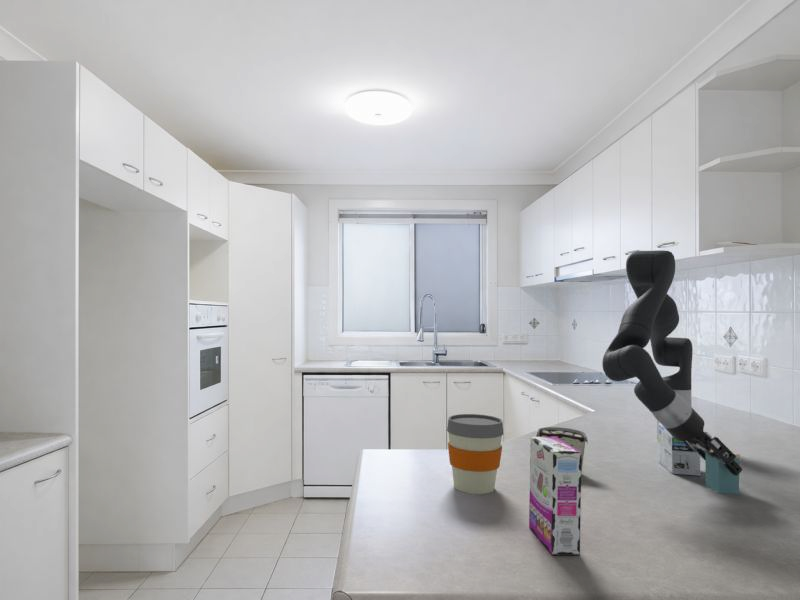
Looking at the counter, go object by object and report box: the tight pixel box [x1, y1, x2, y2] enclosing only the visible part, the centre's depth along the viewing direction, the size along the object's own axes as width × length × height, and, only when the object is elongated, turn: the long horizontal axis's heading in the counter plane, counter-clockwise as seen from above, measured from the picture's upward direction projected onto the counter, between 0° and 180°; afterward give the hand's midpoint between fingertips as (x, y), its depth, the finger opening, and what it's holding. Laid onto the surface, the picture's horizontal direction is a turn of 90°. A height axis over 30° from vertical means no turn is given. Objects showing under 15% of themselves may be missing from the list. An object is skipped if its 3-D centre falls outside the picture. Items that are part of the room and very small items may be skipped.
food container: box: [535, 426, 589, 474], centre depth 124 cm, size 12×6×10 cm, turn 65°
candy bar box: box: [528, 436, 582, 556], centre depth 83 cm, size 11×5×16 cm, turn 5°
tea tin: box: [704, 450, 741, 494], centre depth 111 cm, size 5×5×9 cm
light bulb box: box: [658, 423, 701, 477], centre depth 126 cm, size 11×7×11 cm, turn 168°
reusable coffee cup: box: [446, 413, 504, 495], centre depth 109 cm, size 13×13×15 cm
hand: (725, 466), depth 111 cm, fingers open, 8 cm apart
